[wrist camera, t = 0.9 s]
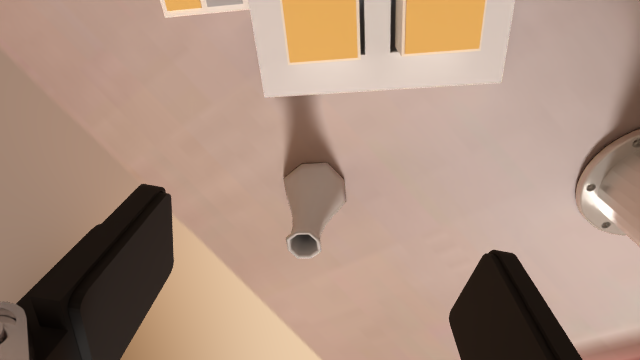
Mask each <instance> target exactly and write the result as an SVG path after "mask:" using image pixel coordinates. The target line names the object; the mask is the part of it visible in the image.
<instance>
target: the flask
mask: <svg viewBox="0 0 640 360" xmlns="http://www.w3.org/2000/svg"><path fill="white" fill-rule="evenodd" d="M284 184H285V190H286V195H287V200H288V204H289V207H290V210H291V213H292V218H293V227H292V232H291V234H290V235H288V236H287V237H286V242H287V247H288V251H290V252H291V253H292V254H293V255H294V256H295V257H297V258H312V257H314V256H315V255H317V254H318V253H320V252H321V243H320V236H321V234H322V232H323V229H324V227H325V226H326V224H327V223H328V222H329V221H330V219H331V218H332V217H333V216H334V215H335V213H336V212H337V211H338V210H339V209H340V208H341V207H342V206H343V205H344V203H345V202H346V196H345V184H344V179H343V178H342V177H341V176H340V175H339V174H338V173H337V172H336V171H335V170H334V169H333V168H332V167H331V166H330V165H329V164H328V163H312V164H301V165H300V166H298V167H297V168H296V169H295V170H293V171H292V172H291V173H290V174H289V175H287V176H286V177H285V178H284Z"/></svg>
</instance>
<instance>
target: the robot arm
mask: <svg viewBox="0 0 640 360" xmlns="http://www.w3.org/2000/svg"><path fill="white" fill-rule="evenodd" d="M576 203H577V206H578V209H579V211H580V213H581V214H582V215H583V217H584V218H585V219H586V220H587V221H588V222H589V223H590V224H591V225H593V226H594V227H595V228H597V229H599V230H601V231H604V232H607V233H610V234H615V235H622V236H625V235H627V236H628V237H629V238H630V239H631V240H632V241H633V242H635V243H636V244H637V245H638V246H639V247H640V129H639V130H636V131H633V132H631V133H629V134H627V135H625V136H622V137H620V138H618V139H617V140H615V141H614V142H612V143H611V144H609V145H608V146H606V147H605V148H604V149H603V150H602V151H601V152H599V153H598V154H597V155H596V156H595V157H594V158H593V159H592V160H591V162H590V163H589V164H588V165H587V166H586V168H585V170H584V171H583V173H582V175H581V176H580V179H579V182H578V184H577V189H576ZM173 262H174V259H173V234H172V207H171V195H170V194H167V193H166V192H165V189H164V188H163V187H158V186H152V185H147V184H141V185H140V186H139V187H138V188H137V189H136V190H135V191H134V192H133V193H132V194H131V195H130V196H129V197H128V198H127V199H126V200H125V201H124V202H123V203H122V204H121V205H120V206H119V207H118V208H117V209H116V210H115V211H114V212H113V213H112V214H111V215H110V216H109V217H108V218H107V219H106V220H105V221H104V222H103V223H102V224H99V225H97V226H95V227H94V228H93V229H91V230H90V231H89V232H88V234H86V236H84V237H83V238H82V239H81V240H80V241H79V242H78V243H77V244H76V245H75V246H74V247H73V248H72V249H71V250H70V251H69V252H68V253H67V254H66V255H65V256H64V257H63V258H62V259H61V260H60V261H59V262H58V263H57V264H56V265H55V266H54V267H53V268H52V269H51V270H50V271H49V272H48V273H47V274H46V275H45V276H44V277H43V278H42V279H41V280H40V281H39V282H38V283H37V284H36V285H35V286H34V287H33V288H32V289H31V290H30V291H29V292H28V293H27V294H26V295H25V296H24V297H23V298H22V299H21V300H20V301H18V302H17V303H16V304H13V303H10V302H0V360H120V358H121V357H122V355H123V353H124V352H125V350H126V348H127V347H128V345H129V343H130V342H131V340H132V338H133V336H134V335H135V333H136V331H137V330H138V328H139V326H140V325H141V323H142V321H143V319H144V318H145V316H146V314H147V313H148V311H149V309H150V308H151V306H152V304H153V302H154V301H155V299H156V297H157V295H158V294H159V292H160V290H161V289H162V287H163V285H164V284H165V282H166V280H167V279H168V277H169V275H170V273H171V271H172V268H173ZM449 322H450V326H451V329H452V332H453V335H454V339H455V342H456V345H457V348H458V351H459V354H460V358H461V360H582V358H581V357H580V355H579V354H578V352H577V350H576V349H575V347H574V346H573V344H572V343H571V341H570V339H569V338H568V336H567V335H566V333H565V332H564V330H563V328H562V327H561V325H560V324H559V322H558V321H557V319H556V318H555V316H554V314H553V313H552V311H551V310H550V308H549V307H548V305H547V303H546V302H545V300H544V299H543V297H542V296H541V294H540V292H539V291H538V289H537V288H536V286H535V285H534V283H533V282H532V280H531V278H530V277H529V275H528V274H527V272H526V271H525V269H524V267H523V266H522V264H521V263H520V261H519V260H518V258H517V257H516V255H515V254H513V253H508V252H503V251H498V250H492V251H490V252H489V253H487V254H484V255H483V256H482V258H481V260H480V261H479V263H478V265H477V267H476V268H475V270H474V272H473V273H472V275H471V277H470V279H469V280H468V282H467V284H466V285H465V287H464V289H463V291H462V292H461V294H460V296H459V297H458V299H457V301H456V303H455V304H454V306H453V308H452V309H451V311H450V315H449Z"/></svg>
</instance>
